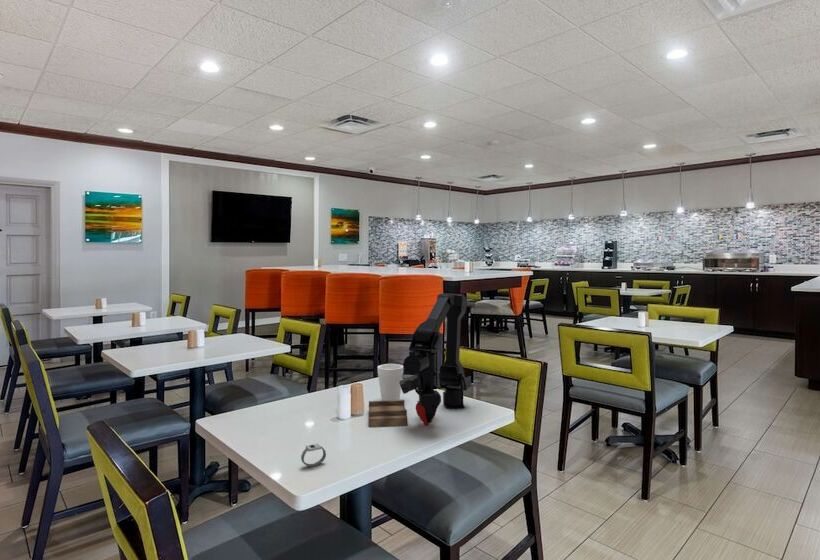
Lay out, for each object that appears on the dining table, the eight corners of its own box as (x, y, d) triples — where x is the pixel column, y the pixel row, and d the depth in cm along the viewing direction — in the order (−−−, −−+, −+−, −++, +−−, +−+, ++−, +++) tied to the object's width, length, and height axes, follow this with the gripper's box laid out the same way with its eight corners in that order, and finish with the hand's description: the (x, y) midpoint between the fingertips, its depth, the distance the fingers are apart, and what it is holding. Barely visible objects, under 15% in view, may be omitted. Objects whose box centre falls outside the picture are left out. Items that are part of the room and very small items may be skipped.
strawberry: (426, 431, 143) (426, 398, 142) (411, 424, 149) (411, 392, 148) (441, 426, 146) (441, 394, 146) (425, 420, 152) (425, 389, 152)
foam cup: (406, 399, 176) (406, 364, 175) (400, 406, 167) (399, 370, 166) (381, 397, 178) (381, 363, 177) (374, 405, 169) (374, 368, 168)
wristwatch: (323, 460, 122) (323, 441, 122) (327, 464, 120) (327, 445, 120) (300, 466, 119) (299, 446, 119) (303, 470, 117) (303, 450, 117)
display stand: (403, 409, 164) (403, 397, 163) (407, 425, 148) (407, 412, 148) (368, 410, 163) (368, 399, 162) (369, 426, 147) (368, 414, 146)
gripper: (398, 362, 155) (399, 409, 156) (403, 376, 136) (403, 429, 137) (432, 361, 156) (432, 408, 157) (441, 375, 137) (441, 427, 138)
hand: (426, 417), depth 147 cm, fingers open, 9 cm apart
